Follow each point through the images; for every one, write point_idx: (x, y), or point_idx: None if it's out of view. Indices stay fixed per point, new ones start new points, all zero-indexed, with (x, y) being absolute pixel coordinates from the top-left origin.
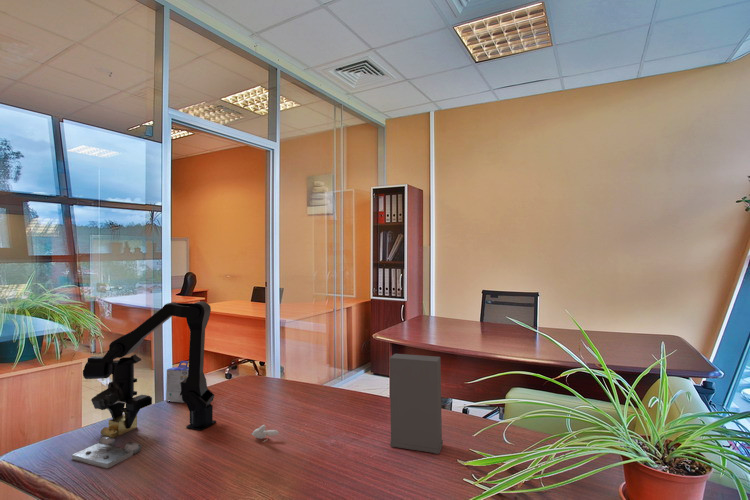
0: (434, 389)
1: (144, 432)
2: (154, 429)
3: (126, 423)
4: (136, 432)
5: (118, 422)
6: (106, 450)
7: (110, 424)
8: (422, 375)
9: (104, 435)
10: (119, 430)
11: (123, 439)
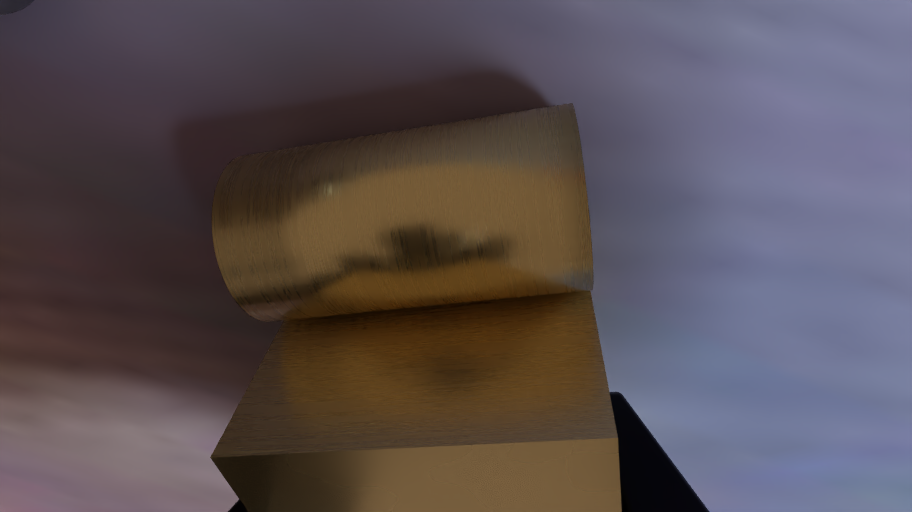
0: None
1: (154, 433)
2: (166, 499)
3: None
4: (232, 403)
5: (227, 459)
6: None
7: (525, 364)
8: None
9: (451, 122)
10: (296, 328)
11: (87, 227)
